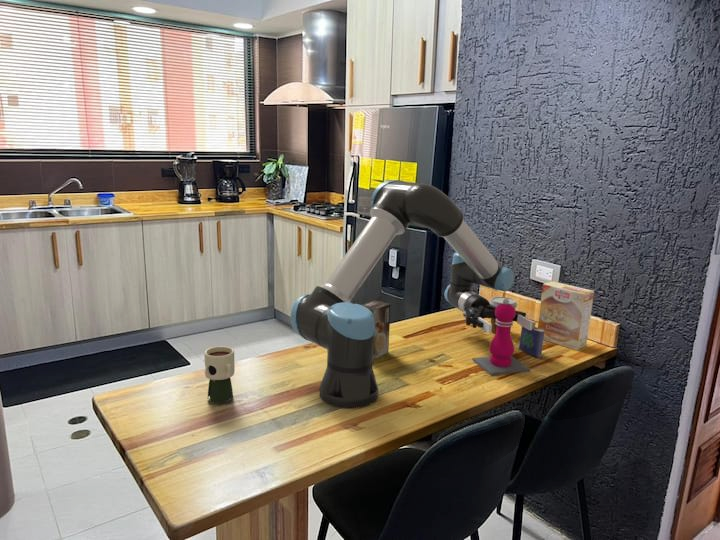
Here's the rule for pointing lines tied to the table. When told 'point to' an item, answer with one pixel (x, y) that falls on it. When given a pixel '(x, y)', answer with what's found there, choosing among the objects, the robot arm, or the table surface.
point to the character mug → (219, 373)
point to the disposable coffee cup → (495, 302)
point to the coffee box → (380, 326)
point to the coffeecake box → (565, 314)
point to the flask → (532, 341)
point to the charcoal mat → (496, 370)
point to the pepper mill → (503, 336)
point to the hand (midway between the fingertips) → (511, 327)
